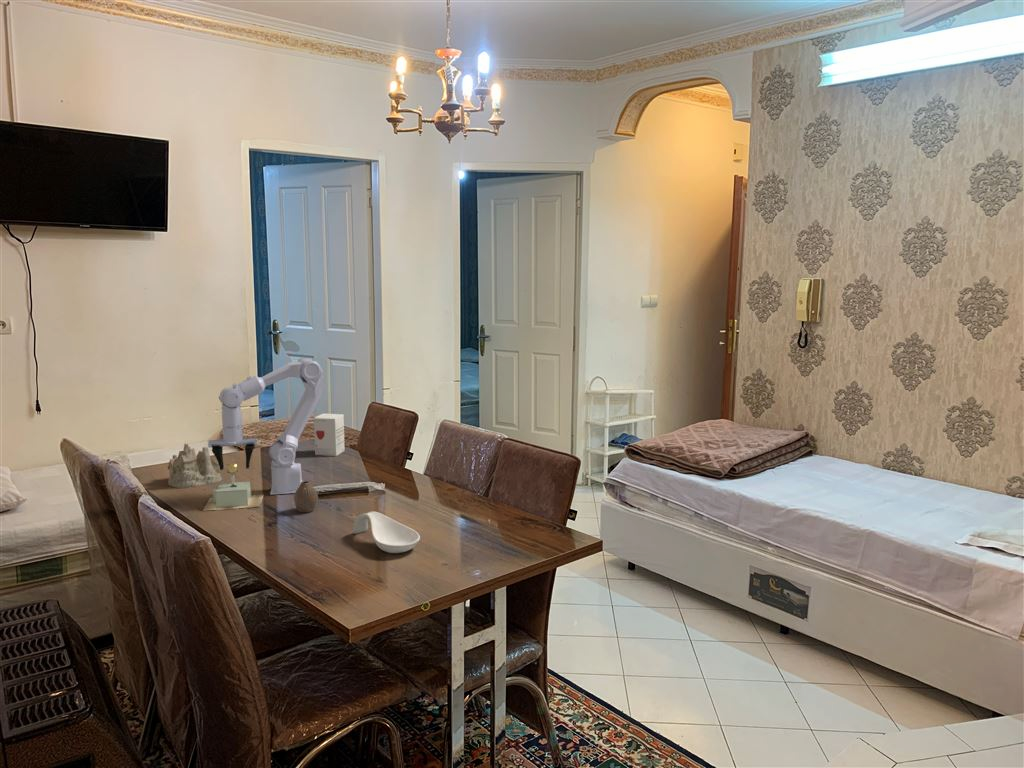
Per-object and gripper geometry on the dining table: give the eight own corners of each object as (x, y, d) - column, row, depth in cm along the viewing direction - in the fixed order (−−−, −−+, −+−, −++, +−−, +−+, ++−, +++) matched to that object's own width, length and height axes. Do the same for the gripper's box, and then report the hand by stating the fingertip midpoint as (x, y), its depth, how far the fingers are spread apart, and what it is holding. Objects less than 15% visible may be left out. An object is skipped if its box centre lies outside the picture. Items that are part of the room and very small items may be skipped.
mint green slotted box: (251, 496, 235) (250, 481, 234) (247, 505, 226) (247, 489, 225) (216, 498, 233) (215, 483, 232) (211, 507, 224) (210, 491, 223)
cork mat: (263, 495, 237) (263, 494, 237) (259, 507, 226) (259, 506, 226) (210, 499, 234) (210, 498, 234) (203, 511, 222) (203, 509, 222)
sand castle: (225, 482, 252) (220, 438, 250) (173, 492, 243) (167, 447, 241) (214, 474, 265) (209, 433, 263) (164, 484, 255) (159, 441, 254)
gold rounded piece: (246, 486, 233) (244, 460, 232) (243, 492, 227) (242, 466, 225) (223, 488, 231) (222, 462, 230) (220, 494, 225) (218, 467, 224)
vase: (311, 514, 219) (310, 486, 218) (290, 513, 220) (288, 484, 219) (322, 507, 226) (321, 479, 224) (301, 506, 227) (300, 478, 226)
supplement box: (314, 455, 288) (312, 417, 286) (323, 449, 297) (322, 413, 294) (336, 456, 287) (335, 418, 284) (345, 450, 295) (344, 413, 293)
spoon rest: (429, 550, 192) (428, 523, 191) (391, 562, 184) (391, 534, 183) (376, 527, 209) (375, 503, 208) (339, 538, 201) (339, 512, 199)
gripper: (205, 429, 226) (208, 473, 228) (255, 427, 229) (257, 470, 231) (209, 425, 233) (212, 467, 235) (257, 422, 236) (260, 464, 238)
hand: (234, 468), depth 233 cm, fingers open, 7 cm apart
